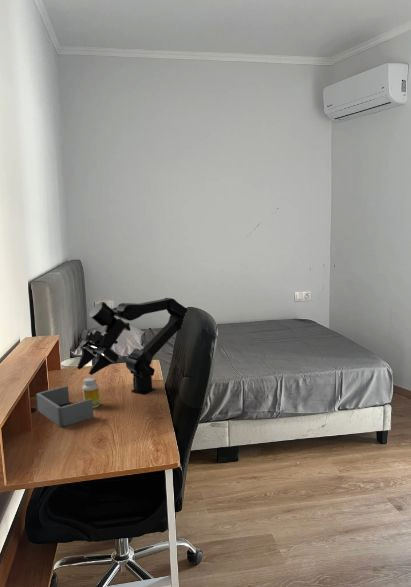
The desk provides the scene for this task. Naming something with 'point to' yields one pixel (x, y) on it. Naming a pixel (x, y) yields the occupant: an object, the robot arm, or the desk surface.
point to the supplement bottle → (91, 391)
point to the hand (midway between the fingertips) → (84, 371)
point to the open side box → (66, 414)
